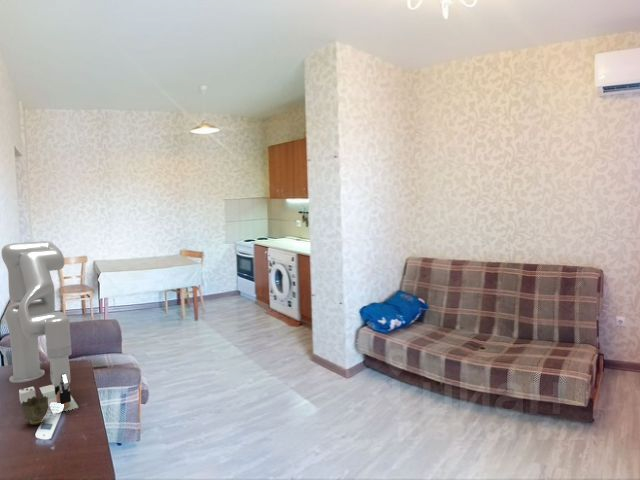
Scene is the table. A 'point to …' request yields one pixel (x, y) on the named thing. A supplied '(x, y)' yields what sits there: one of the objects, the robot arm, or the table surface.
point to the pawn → (59, 400)
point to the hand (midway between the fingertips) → (62, 398)
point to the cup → (35, 409)
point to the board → (51, 395)
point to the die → (26, 394)
